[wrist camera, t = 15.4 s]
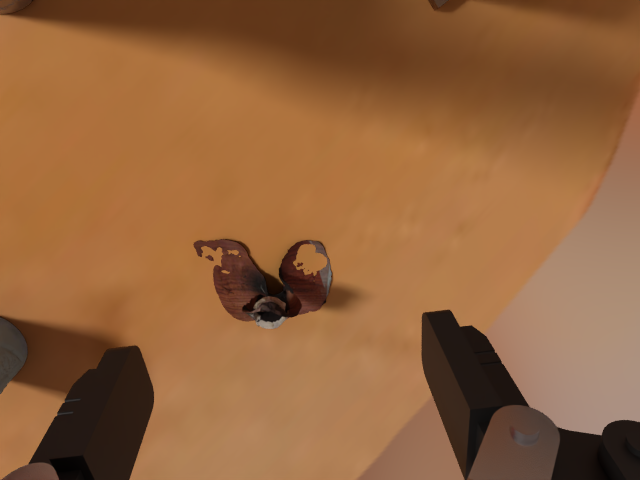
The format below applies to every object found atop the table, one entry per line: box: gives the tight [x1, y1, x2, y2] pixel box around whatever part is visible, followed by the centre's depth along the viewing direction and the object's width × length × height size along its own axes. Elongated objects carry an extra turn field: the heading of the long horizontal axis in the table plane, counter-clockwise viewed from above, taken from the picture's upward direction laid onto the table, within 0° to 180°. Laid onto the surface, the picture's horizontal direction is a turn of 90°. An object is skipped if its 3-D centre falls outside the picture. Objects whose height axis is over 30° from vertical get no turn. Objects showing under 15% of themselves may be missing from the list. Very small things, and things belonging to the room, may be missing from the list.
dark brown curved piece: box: [194, 239, 332, 329], centre depth 50 cm, size 11×12×15 cm
